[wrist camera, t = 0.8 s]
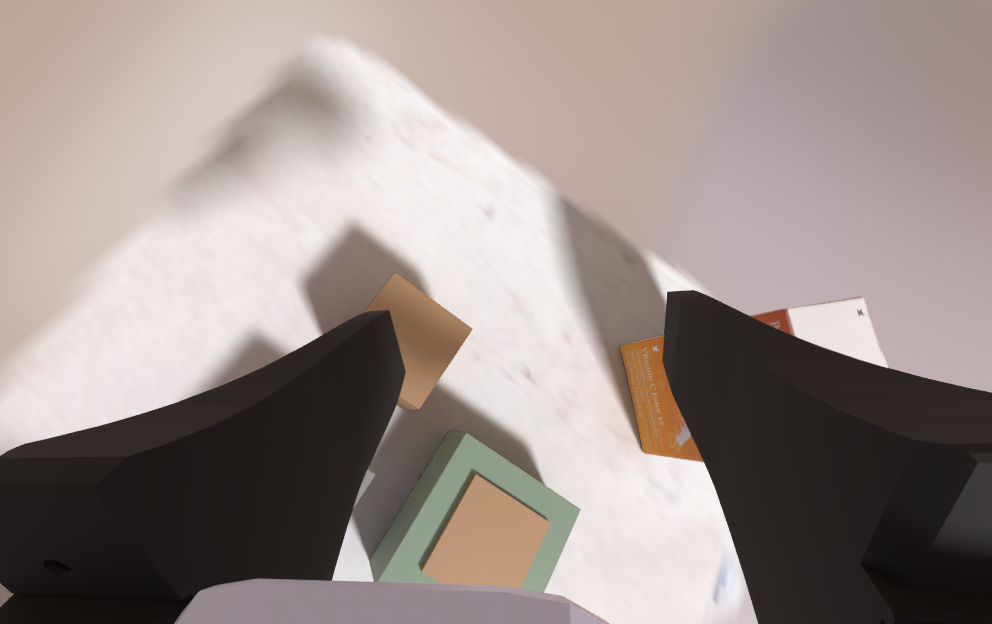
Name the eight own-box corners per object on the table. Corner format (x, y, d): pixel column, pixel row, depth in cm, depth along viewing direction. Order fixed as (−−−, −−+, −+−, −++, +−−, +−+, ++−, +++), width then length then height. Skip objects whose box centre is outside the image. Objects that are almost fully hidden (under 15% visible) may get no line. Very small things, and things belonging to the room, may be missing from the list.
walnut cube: (404, 409, 25) (419, 409, 21) (333, 362, 24) (332, 350, 20) (449, 343, 27) (472, 328, 23) (385, 296, 26) (395, 272, 22)
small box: (616, 345, 31) (786, 303, 20) (680, 335, 34) (867, 293, 22) (641, 456, 30) (839, 485, 18) (706, 438, 32) (919, 452, 21)
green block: (485, 627, 24) (514, 668, 20) (368, 559, 23) (375, 589, 19) (547, 496, 27) (583, 510, 23) (448, 429, 26) (468, 432, 22)
